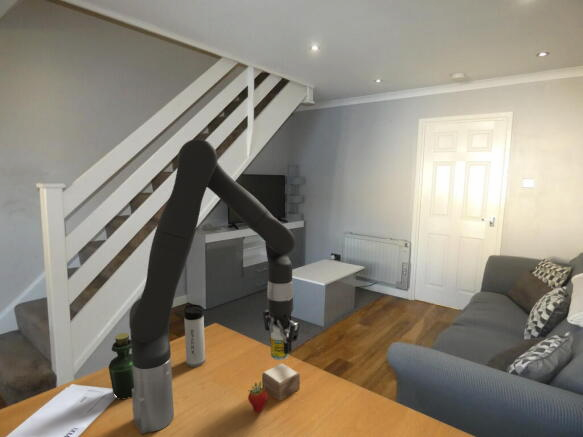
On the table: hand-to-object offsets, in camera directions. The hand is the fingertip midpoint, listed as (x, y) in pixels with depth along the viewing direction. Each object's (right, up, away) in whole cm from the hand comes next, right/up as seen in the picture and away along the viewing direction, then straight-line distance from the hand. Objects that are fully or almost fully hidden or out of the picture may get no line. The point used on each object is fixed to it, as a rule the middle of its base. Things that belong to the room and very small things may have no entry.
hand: (280, 349), depth 102 cm
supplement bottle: (0, -2, 0) cm, 2 cm away
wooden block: (0, -13, +2) cm, 13 cm away
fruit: (-6, -14, -8) cm, 17 cm away
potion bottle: (-46, -13, 0) cm, 48 cm away
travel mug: (-30, -11, +16) cm, 36 cm away
